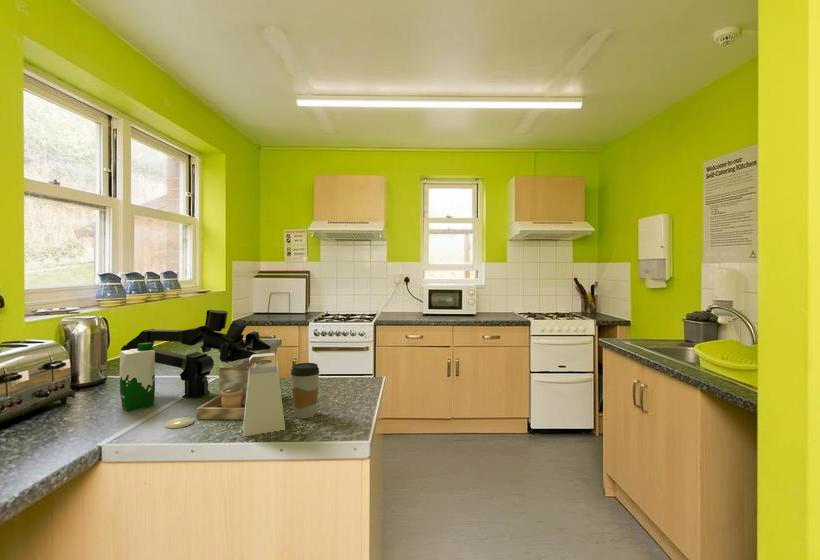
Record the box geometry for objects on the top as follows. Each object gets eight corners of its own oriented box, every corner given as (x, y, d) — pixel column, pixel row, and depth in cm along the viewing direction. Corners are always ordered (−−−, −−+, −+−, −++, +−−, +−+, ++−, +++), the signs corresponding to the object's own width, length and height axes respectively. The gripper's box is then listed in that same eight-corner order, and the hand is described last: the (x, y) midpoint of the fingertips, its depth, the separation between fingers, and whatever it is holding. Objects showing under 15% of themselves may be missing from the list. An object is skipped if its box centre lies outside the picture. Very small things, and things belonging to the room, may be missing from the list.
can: (276, 393, 140) (276, 359, 140) (268, 399, 134) (268, 363, 133) (259, 392, 141) (259, 359, 141) (250, 398, 134) (250, 363, 134)
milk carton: (158, 406, 127) (157, 344, 126) (124, 413, 120) (123, 347, 120) (150, 400, 133) (149, 340, 132) (117, 406, 126) (116, 344, 126)
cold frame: (196, 418, 116) (196, 379, 115) (221, 402, 130) (220, 367, 129) (250, 419, 115) (250, 379, 115) (269, 403, 129) (268, 368, 129)
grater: (243, 422, 113) (242, 352, 112) (281, 417, 117) (281, 350, 116) (243, 436, 103) (243, 360, 103) (285, 430, 107) (285, 357, 107)
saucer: (159, 428, 108) (159, 426, 108) (175, 419, 115) (175, 417, 115) (184, 428, 108) (184, 426, 108) (198, 419, 115) (198, 417, 115)
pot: (216, 416, 117) (216, 392, 117) (226, 409, 123) (226, 386, 123) (236, 416, 117) (236, 393, 117) (246, 409, 123) (246, 387, 123)
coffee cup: (324, 412, 121) (324, 363, 121) (309, 421, 113) (309, 369, 113) (301, 409, 124) (301, 361, 124) (284, 418, 116) (284, 367, 116)
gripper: (206, 324, 126) (250, 334, 124) (240, 314, 144) (279, 322, 142) (202, 358, 127) (246, 368, 125) (236, 343, 146) (275, 352, 144)
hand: (263, 351), depth 134 cm, fingers open, 9 cm apart
